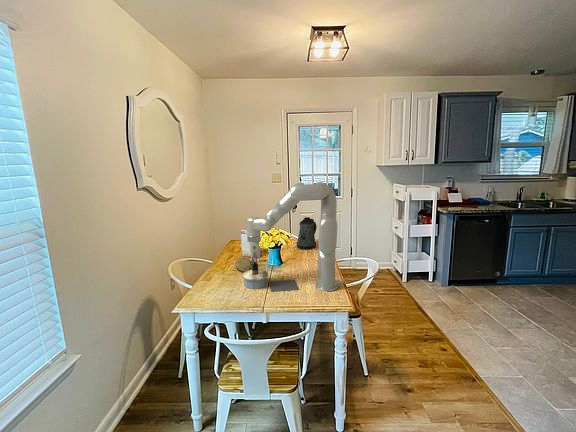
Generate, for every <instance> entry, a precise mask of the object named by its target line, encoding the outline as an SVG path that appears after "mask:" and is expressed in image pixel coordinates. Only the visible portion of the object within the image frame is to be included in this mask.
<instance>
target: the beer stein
mask: <svg viewBox="0 0 576 432" xmlns="http://www.w3.org/2000/svg"><path fill="white" fill-rule="evenodd" d="M298 224H299V231H298V238H297V241H296V248H297V249H298V250H304V251H310V250H314V249H316V247H317V242H316V237H315V236H316V233H317V227H318V225H317V223H316V221H315V220H314V219H313V218H311V217H308V216H307V217H304V218H303V219H302V220H301V221H300V222H299V223H298Z"/></svg>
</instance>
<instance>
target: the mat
mask: <svg viewBox="0 0 576 432" xmlns="http://www.w3.org/2000/svg"><path fill="white" fill-rule="evenodd" d="M268 284H269V289H270V293H277V292H289V291H290V292H291V291H294V292H295V291H300V288H299V286H298V283H297V281H296V279H281V280H270V281H269V280H268Z"/></svg>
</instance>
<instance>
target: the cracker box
mask: <svg viewBox="0 0 576 432" xmlns="http://www.w3.org/2000/svg"><path fill="white" fill-rule="evenodd" d="M240 233H241V234H240V242H241V257H246V258H249V259H251V254H250V243H249V242H247V228H243V229H242V228H241V230H240ZM259 252H260V253H261V245H260V246H259ZM260 258H261V254H260Z"/></svg>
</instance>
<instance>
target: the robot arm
mask: <svg viewBox="0 0 576 432" xmlns="http://www.w3.org/2000/svg"><path fill="white" fill-rule="evenodd" d="M301 201H302V202H303V201H320V217H319V224H318V226H319V227H318V240H317V244H318V245H317V246H318V249H317V251H318V252H317V253H318V254H317V255H318V256H317V257H318V260H317V263H318V264H317V267H318V269H317V272H318V273H317V275H318V276H317V283H315V288H316V289H317V290H319V291H322V292H333V291H334V292H335V291H337V290H338V286H339V285H344V280H340V279H336V249H337V241H338V221H337V212H338V211H337V209H338V208H337V207H338V206H337V205H338V203H337V202H338V201H337V196H336V193H335V191H334V189H332V187H331V186H330V185H328V184H327V183H326V182H321V181H319V182H316V183H309V184H304V183H300V182H299V183H295V184H293V186H292V187H291V188H289V190H288V191H287V192H286V193H284V195H283V196H282V197H281V198H280V199H279V200H278V201H277V202H276V204H275V205H274V206H273V207H272V208H271V209H270V210H269V211H268V212H267V213H266V214H265V216H263V218H260V217H258V216H251V217H250V216H249V217H247V219H246V229H247V242H249V243H250V254H251V258H250V259H251V260H252V263H251V265H252V268H251V270H253V271H255V270H259V263H258V260H260V258H261V257H260V255H261V251H260V252H259V242H260V243H261V241H262V239H261V232H269V231H271V230H272V229H273V227H274V226H275V225H276V224H277V223H278V222H279V221H280V220H281V219H282V218H283V217H284V216H285V215H287V214H288V213H290V212H291V211H292V210H293V209H294V208H295V206H297V204H299V203H300V202H301Z"/></svg>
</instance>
